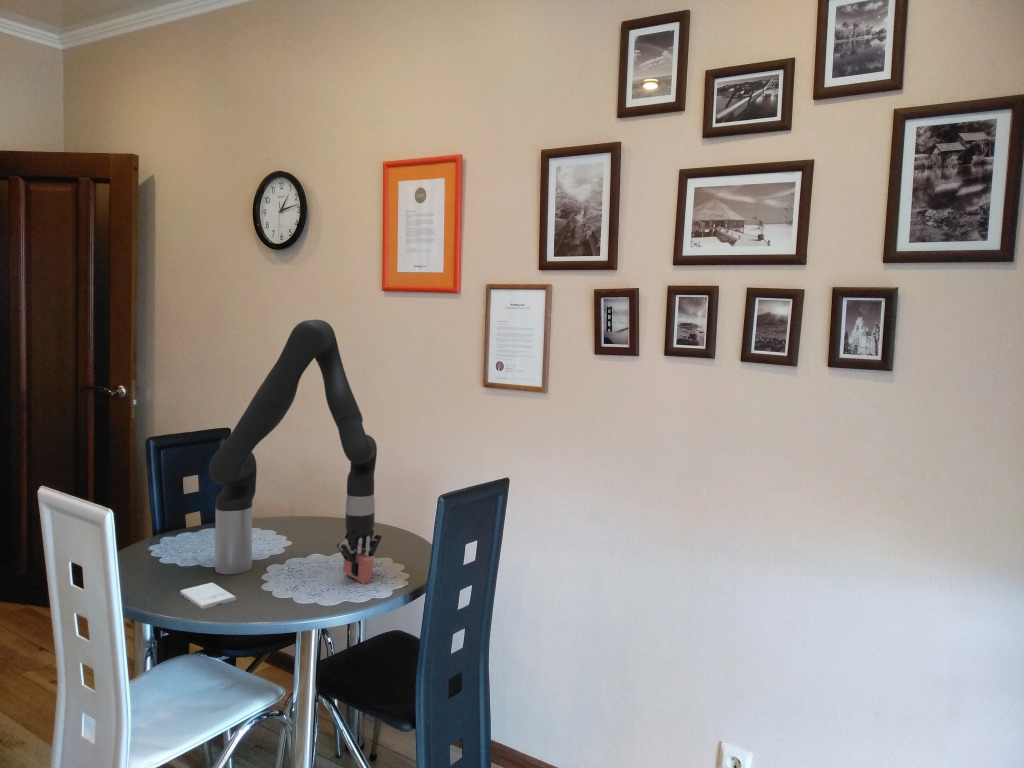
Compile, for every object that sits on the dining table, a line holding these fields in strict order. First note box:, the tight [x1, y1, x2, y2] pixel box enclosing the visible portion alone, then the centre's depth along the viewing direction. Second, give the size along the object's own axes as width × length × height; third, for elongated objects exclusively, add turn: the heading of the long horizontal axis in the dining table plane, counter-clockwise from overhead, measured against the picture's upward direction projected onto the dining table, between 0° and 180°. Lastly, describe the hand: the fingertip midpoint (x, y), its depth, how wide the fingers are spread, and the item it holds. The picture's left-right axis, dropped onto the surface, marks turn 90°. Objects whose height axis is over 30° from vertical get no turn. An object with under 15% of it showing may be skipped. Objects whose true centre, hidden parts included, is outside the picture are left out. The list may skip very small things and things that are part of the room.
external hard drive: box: [179, 582, 237, 610], centre depth 168 cm, size 2×8×12 cm
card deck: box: [342, 547, 375, 585], centre depth 183 cm, size 9×2×6 cm, turn 50°
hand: (359, 574), depth 182 cm, fingers closed on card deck, 1 cm apart
